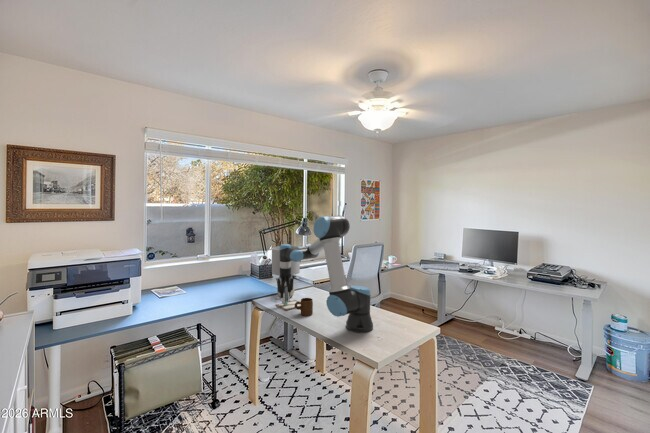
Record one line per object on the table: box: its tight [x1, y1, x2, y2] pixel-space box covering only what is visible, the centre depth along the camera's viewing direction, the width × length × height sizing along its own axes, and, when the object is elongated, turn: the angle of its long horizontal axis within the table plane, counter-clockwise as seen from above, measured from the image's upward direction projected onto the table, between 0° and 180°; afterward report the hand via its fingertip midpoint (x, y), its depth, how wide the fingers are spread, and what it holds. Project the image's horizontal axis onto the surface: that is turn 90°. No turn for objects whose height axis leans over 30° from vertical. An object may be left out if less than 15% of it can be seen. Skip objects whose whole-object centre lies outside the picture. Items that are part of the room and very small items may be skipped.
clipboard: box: [275, 299, 301, 312], centre depth 212 cm, size 13×16×1 cm
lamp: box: [271, 245, 301, 298], centre depth 231 cm, size 20×20×37 cm
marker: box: [283, 286, 288, 305], centre depth 211 cm, size 3×3×12 cm
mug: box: [295, 297, 314, 317], centre depth 196 cm, size 12×8×9 cm, turn 121°
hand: (285, 301), depth 211 cm, fingers closed on marker, 3 cm apart
